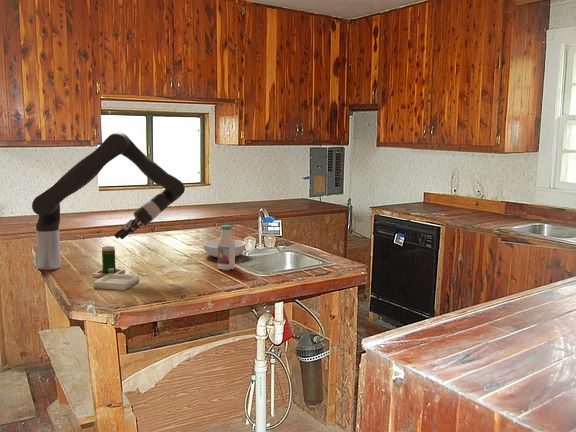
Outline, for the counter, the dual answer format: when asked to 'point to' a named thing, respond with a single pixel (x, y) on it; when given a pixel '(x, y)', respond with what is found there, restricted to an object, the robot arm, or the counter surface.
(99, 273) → the collar
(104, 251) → the beer can
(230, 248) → the milk bottle
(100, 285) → the tray
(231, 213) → the counter surface
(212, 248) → the serving bowl
